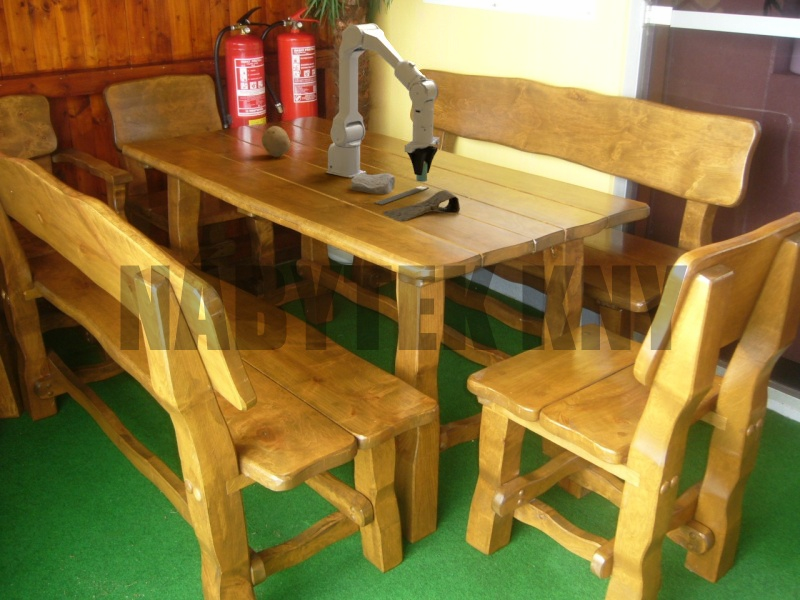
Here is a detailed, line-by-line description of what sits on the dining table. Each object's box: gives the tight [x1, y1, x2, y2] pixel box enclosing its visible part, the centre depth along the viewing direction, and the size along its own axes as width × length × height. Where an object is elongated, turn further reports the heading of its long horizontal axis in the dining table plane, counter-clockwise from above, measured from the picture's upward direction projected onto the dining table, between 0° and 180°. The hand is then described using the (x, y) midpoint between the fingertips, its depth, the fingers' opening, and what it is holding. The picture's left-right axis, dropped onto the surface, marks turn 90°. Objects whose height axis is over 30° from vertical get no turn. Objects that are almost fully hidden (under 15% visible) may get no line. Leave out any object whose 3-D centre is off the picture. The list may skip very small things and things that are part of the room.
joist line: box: [374, 185, 430, 206], centre depth 228 cm, size 2×22×1 cm, turn 144°
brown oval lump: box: [261, 125, 291, 158], centre depth 266 cm, size 9×9×10 cm
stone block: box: [350, 172, 396, 195], centre depth 234 cm, size 12×5×10 cm
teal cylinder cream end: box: [415, 161, 428, 183], centre depth 233 cm, size 3×3×5 cm
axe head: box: [382, 189, 461, 222], centre depth 213 cm, size 21×5×10 cm
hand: (421, 173), depth 233 cm, fingers closed on teal cylinder cream end, 3 cm apart
